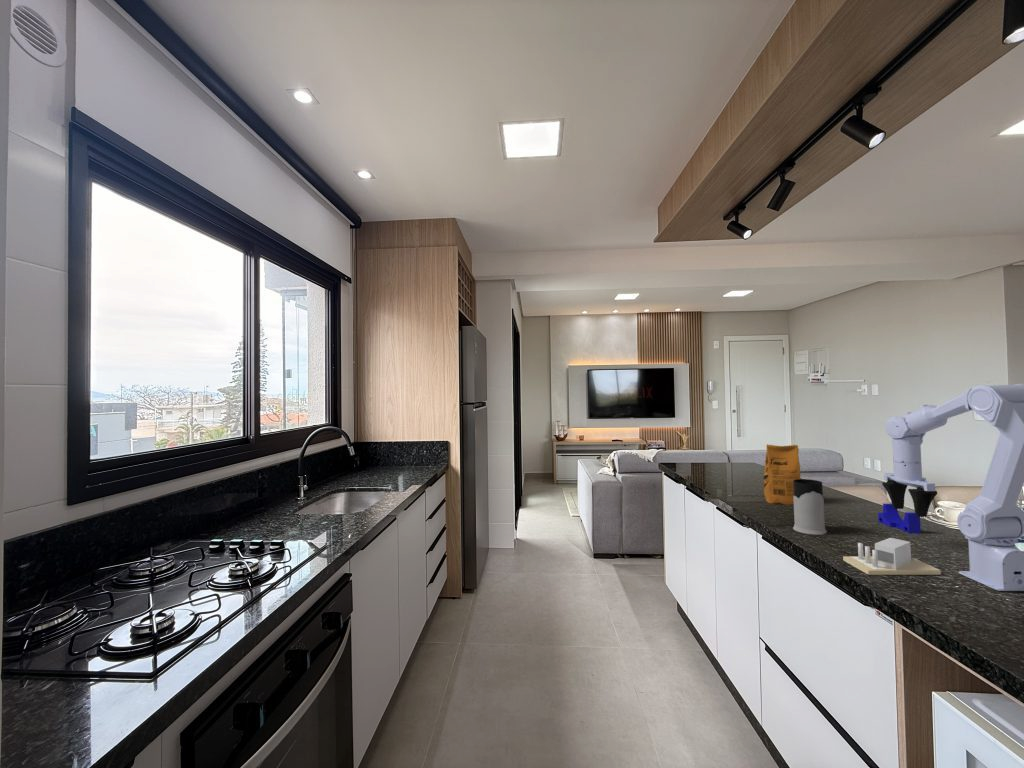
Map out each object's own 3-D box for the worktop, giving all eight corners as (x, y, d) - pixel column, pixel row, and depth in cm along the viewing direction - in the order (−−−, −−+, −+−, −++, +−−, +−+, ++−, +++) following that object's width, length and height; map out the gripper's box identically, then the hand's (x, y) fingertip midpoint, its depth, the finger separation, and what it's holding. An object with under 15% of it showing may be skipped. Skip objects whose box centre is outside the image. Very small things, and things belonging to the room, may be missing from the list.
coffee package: (763, 497, 180) (760, 442, 181) (799, 500, 175) (797, 443, 176) (765, 503, 171) (762, 445, 172) (803, 506, 166) (801, 446, 166)
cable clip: (878, 522, 146) (877, 503, 146) (894, 522, 145) (893, 503, 145) (903, 533, 134) (902, 513, 134) (920, 534, 133) (919, 513, 133)
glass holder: (799, 534, 136) (797, 484, 136) (782, 520, 150) (780, 475, 150) (832, 535, 134) (830, 484, 134) (812, 521, 148) (810, 475, 148)
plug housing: (922, 557, 113) (921, 537, 113) (895, 569, 106) (894, 548, 106) (902, 552, 116) (901, 533, 116) (875, 564, 109) (874, 543, 110)
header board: (941, 574, 105) (940, 553, 105) (868, 574, 106) (867, 553, 106) (909, 560, 114) (909, 540, 114) (843, 560, 115) (842, 540, 115)
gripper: (946, 465, 114) (949, 519, 113) (901, 457, 128) (903, 505, 128) (917, 466, 114) (919, 520, 114) (875, 457, 129) (877, 505, 128)
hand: (909, 512), depth 121 cm, fingers open, 7 cm apart
